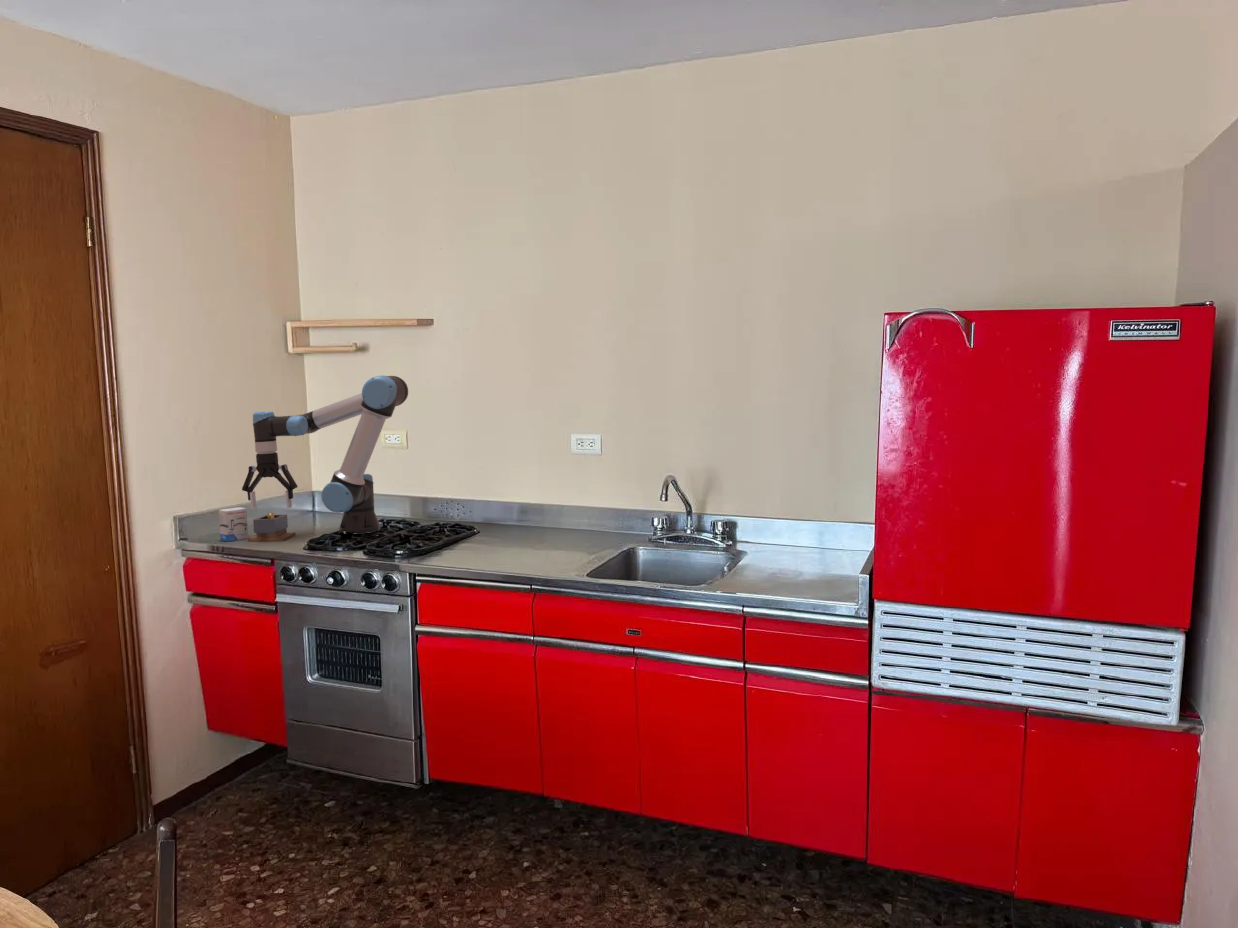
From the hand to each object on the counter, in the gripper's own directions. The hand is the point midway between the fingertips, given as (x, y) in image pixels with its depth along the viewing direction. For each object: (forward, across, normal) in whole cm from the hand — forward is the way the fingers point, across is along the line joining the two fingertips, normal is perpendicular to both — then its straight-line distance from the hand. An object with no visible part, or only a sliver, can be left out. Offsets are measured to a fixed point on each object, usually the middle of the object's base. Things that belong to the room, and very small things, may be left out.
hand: (271, 508), depth 309 cm
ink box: (+11, +15, +1) cm, 19 cm away
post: (+8, +1, 0) cm, 8 cm away
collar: (+8, +1, 0) cm, 8 cm away
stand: (+12, +1, 0) cm, 12 cm away
